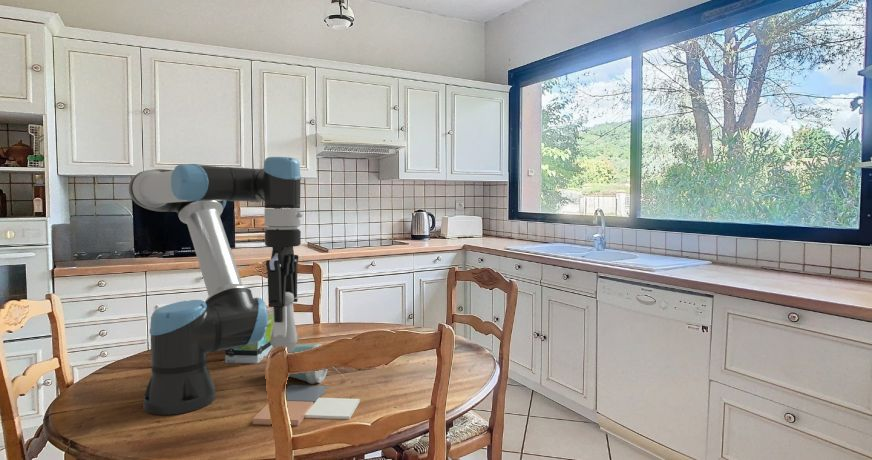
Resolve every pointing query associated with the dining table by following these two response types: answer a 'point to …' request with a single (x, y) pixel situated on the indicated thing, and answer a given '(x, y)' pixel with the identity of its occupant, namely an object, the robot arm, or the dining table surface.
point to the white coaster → (333, 408)
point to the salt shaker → (291, 329)
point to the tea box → (252, 347)
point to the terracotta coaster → (295, 411)
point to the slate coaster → (304, 393)
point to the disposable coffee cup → (313, 375)
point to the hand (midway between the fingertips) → (283, 333)
